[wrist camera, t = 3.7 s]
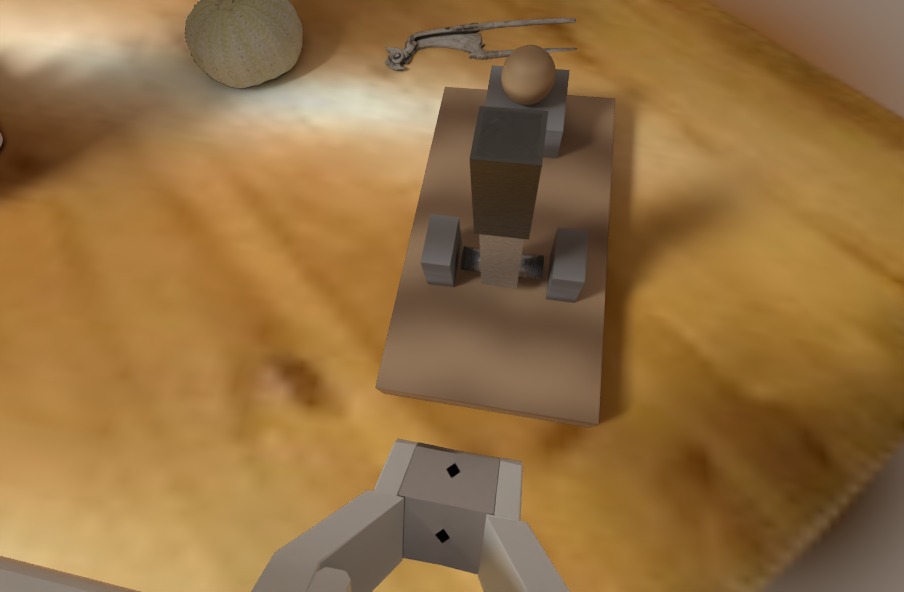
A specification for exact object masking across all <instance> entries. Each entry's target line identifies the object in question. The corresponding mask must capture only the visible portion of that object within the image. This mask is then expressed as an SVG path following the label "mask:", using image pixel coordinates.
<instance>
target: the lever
mask: <svg viewBox="0 0 904 592" xmlns="http://www.w3.org/2000/svg"><path fill="white" fill-rule="evenodd" d="M547 119H548V111H543V110H529V109H515V108H501V107H488V106H479V112H478V117H477V122H476V127H475V133H474V138H473V143H472V148H471V153H470V159H469V160H470V176H471V192H472V208H473V224H474V234H479V242H480V248H476V247H467V246H464V247H463V251H462V257H461V270H465V271H473V272H481V284H482V285H490V286H498V287H506V288H514V289H517V283H518V277H522V278H530V279H538V280H541V278H542V273H543V266H544V255H536V254H528V253H522V250H523V244H524V239H527V240H529V237H530V231H531V225H532V220H533V214H534V208H535V203H536V197H537V191H538V185H539V180H540V174H541V168H542V161H543V153H544V145H545V136H546V128H547Z"/></svg>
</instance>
